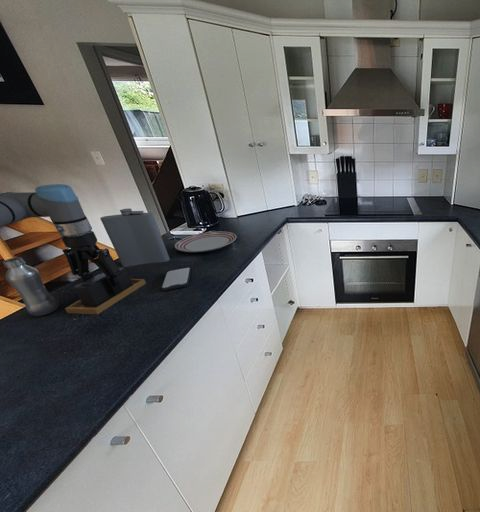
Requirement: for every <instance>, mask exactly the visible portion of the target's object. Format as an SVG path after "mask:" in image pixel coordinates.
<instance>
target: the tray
mask: <svg viewBox="0 0 480 512" xmlns="http://www.w3.org/2000/svg"><path fill="white" fill-rule="evenodd" d="M130 279H131V281H132V284H133V285H132V286H130V287H129V288H127V289H126V290H124V291H122V292H121V293H119V294H117V295H116V296H114V297H112V298H111V299H109V300H108V301H106V302H104V303H103V304H101V305H99V306H98V307H84V305H83V304H82V302H81V300H80V299H79V300H77V301H75V302H73V303H72V304H70V305H68V306H66V307H65V308H64V310H65V311H66V313H67V314H81V315H100V314H101V313H103V312H104V311H106V310H107V309H108V308H110V307H112V306H113V305H115V304H116V303H118V302H120V301H121V300H123V299H124V298H126V297H127V296H129V295H130V294H132V293H133V292H135V291H136V290H139V289H140V288H142V287H143V286H144V285H146V284H147V282H146V280H145V278H130Z"/></svg>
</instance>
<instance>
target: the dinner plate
mask: <svg viewBox="0 0 480 512" xmlns="http://www.w3.org/2000/svg"><path fill="white" fill-rule="evenodd" d="M237 237H238V236H237V234H235V232H231V231H207V232H201V233H195V234H193V235H189V236H186V237H184V238H182V239H179V241H177V242H175V244H174V248H175V249H176V250H178V251H180V252H184V253H197V254H198V253H207V252H213V251H216V250H220V249H222V248H224V247H226V246H228V245H231V244H232V243H233V242H234V241H236V240H237Z"/></svg>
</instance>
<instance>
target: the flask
mask: <svg viewBox="0 0 480 512" xmlns="http://www.w3.org/2000/svg"><path fill="white" fill-rule="evenodd" d="M119 212H120V213H119V214H111V215H105V216H101V217H99V219H100V221H101V223H102V225H103V227H104V230H105V232H106V234H107V236H108V238H109V241H110V243H111V244H112V247H113V249H114V251H115V253H116V255H117V257H118V260H119V262H120V265H121V266H122V268H128V267H134V266H139V265H147V264H156V263H166V262H169V261H170V260H171V258H170V255H169V253H168V251H167V250H168V249H167V247H166V245H165V242H164V240H163V237H162V234H161V232H160V229H159V226H158V224H157V222H156V219H155V216H154V213H153V212H145V211H144V210H132V208H129V207H128V208H122V209H119Z"/></svg>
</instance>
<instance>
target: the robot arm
mask: <svg viewBox="0 0 480 512" xmlns="http://www.w3.org/2000/svg"><path fill="white" fill-rule="evenodd" d="M34 190H35V191H33V192H30V191H29V192H28V191H26V192H21V191H20V192H14V191H6V192H0V228H2V227H4V226H7V225H12V224H15V223H17V222H21V221H24V220H26V219H31V218H49V219H50V221H51V222H52V224H53V225H54V227H55V229H56V231H57V233H58V235H59V236H61V237H60V239H61V241H62V242H63V244H64V246H65V248H64V249H62V253H63V254H64V255H65V257H66V260H67V263H68V266H69V268H70V271H71V274H72V275H74V276H78V277H80V278H81V279H82V282H85V281H87V280H88V279H90V278H92V277H94V275H93V273H91V270H90V266H89V262H90V263H92V264H94V265H95V266H96V267H97V268H98V269H99V270H100V271H101V273H102V272H103V273H104V274H105V275H106V276H107V277H108V278H106V280H107V282H108V284H109V286H110V288H111V290H112V292H113V294H117V293H118V292H120V291H122V288H121V286H120V284H119V283H120V282H119V280H118V277H117V275H119V274H121V271H120V269H119V268H120V267H119V266H118V265H117V263H116V262H115V260H114V257H112V255H111V253H110V250H109V248H100V247H99V246H98V245H97V242H98V238H97V236H96V233H95V232H94V231H93V227H92V225H91V223H90V221H89V219H88V217H87V216H86V214H85V212H84V209H83V207H82V205H81V202H80V199H79V197H78V196H77V194H76V193H75V191H74V190H73V187H72V186H70V185H69V184H66V183H53V184H52V183H51V184H44V185H39V186H36V187H35V189H34Z"/></svg>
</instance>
